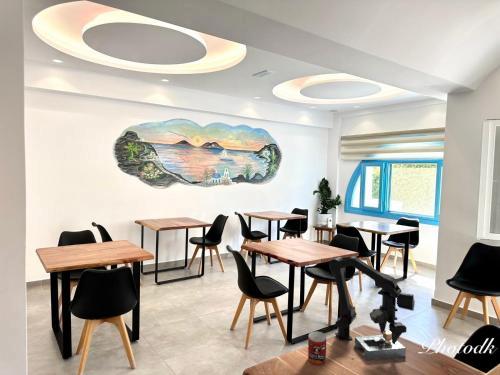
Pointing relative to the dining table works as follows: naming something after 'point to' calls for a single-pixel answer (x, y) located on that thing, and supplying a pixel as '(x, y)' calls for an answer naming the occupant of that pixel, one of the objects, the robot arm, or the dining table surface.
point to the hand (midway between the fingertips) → (387, 338)
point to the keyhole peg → (387, 336)
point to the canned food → (317, 348)
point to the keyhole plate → (379, 347)
